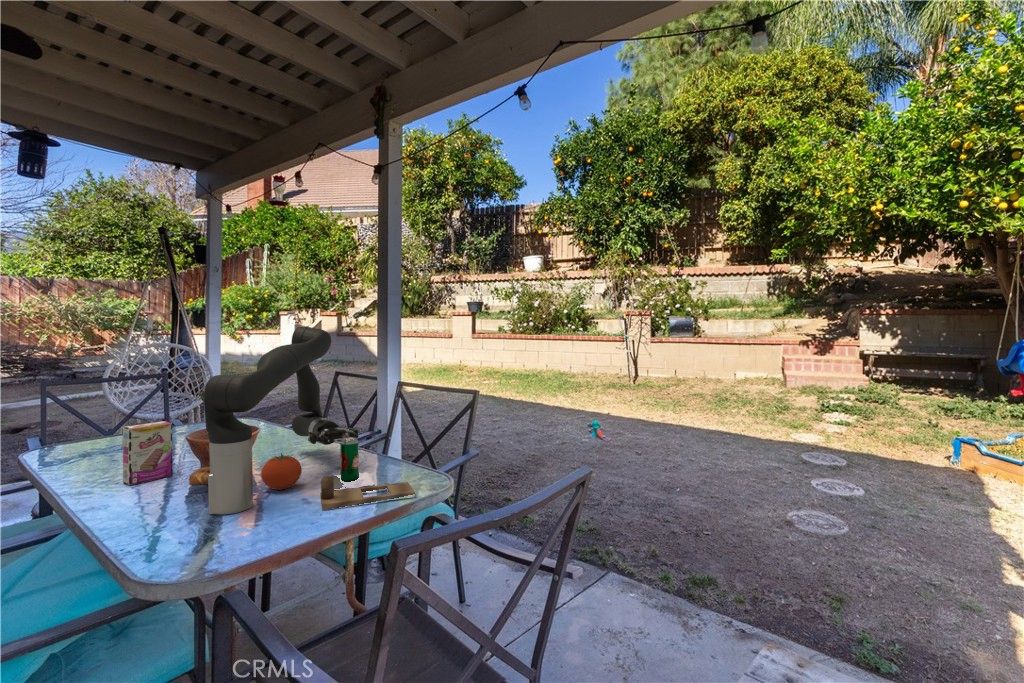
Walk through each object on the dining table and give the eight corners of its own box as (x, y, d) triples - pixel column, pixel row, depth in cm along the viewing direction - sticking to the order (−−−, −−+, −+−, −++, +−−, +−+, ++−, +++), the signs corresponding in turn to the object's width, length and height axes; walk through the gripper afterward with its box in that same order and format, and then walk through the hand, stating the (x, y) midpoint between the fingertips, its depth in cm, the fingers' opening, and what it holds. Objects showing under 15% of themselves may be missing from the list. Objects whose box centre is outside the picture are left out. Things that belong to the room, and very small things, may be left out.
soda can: (356, 482, 141) (355, 441, 140) (338, 482, 141) (337, 441, 140) (360, 476, 146) (360, 436, 146) (343, 477, 146) (343, 437, 145)
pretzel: (197, 489, 137) (196, 476, 137) (182, 482, 144) (181, 469, 143) (242, 478, 146) (241, 466, 146) (226, 471, 153) (225, 460, 153)
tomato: (255, 488, 137) (255, 453, 137) (293, 480, 144) (292, 446, 144) (269, 497, 130) (268, 460, 129) (307, 488, 137) (307, 453, 137)
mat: (329, 491, 135) (329, 489, 135) (326, 477, 147) (326, 476, 147) (374, 485, 140) (374, 483, 140) (368, 472, 152) (368, 471, 152)
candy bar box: (130, 486, 138) (128, 428, 138) (122, 483, 141) (120, 426, 140) (174, 476, 148) (173, 422, 147) (165, 473, 150) (164, 420, 150)
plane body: (322, 510, 121) (322, 484, 121) (320, 498, 130) (320, 473, 129) (415, 497, 130) (415, 473, 130) (407, 486, 139) (407, 464, 139)
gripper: (300, 421, 155) (317, 429, 143) (345, 417, 164) (364, 424, 152) (300, 445, 156) (317, 455, 143) (345, 439, 164) (364, 448, 152)
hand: (341, 439), depth 147 cm, fingers open, 8 cm apart
